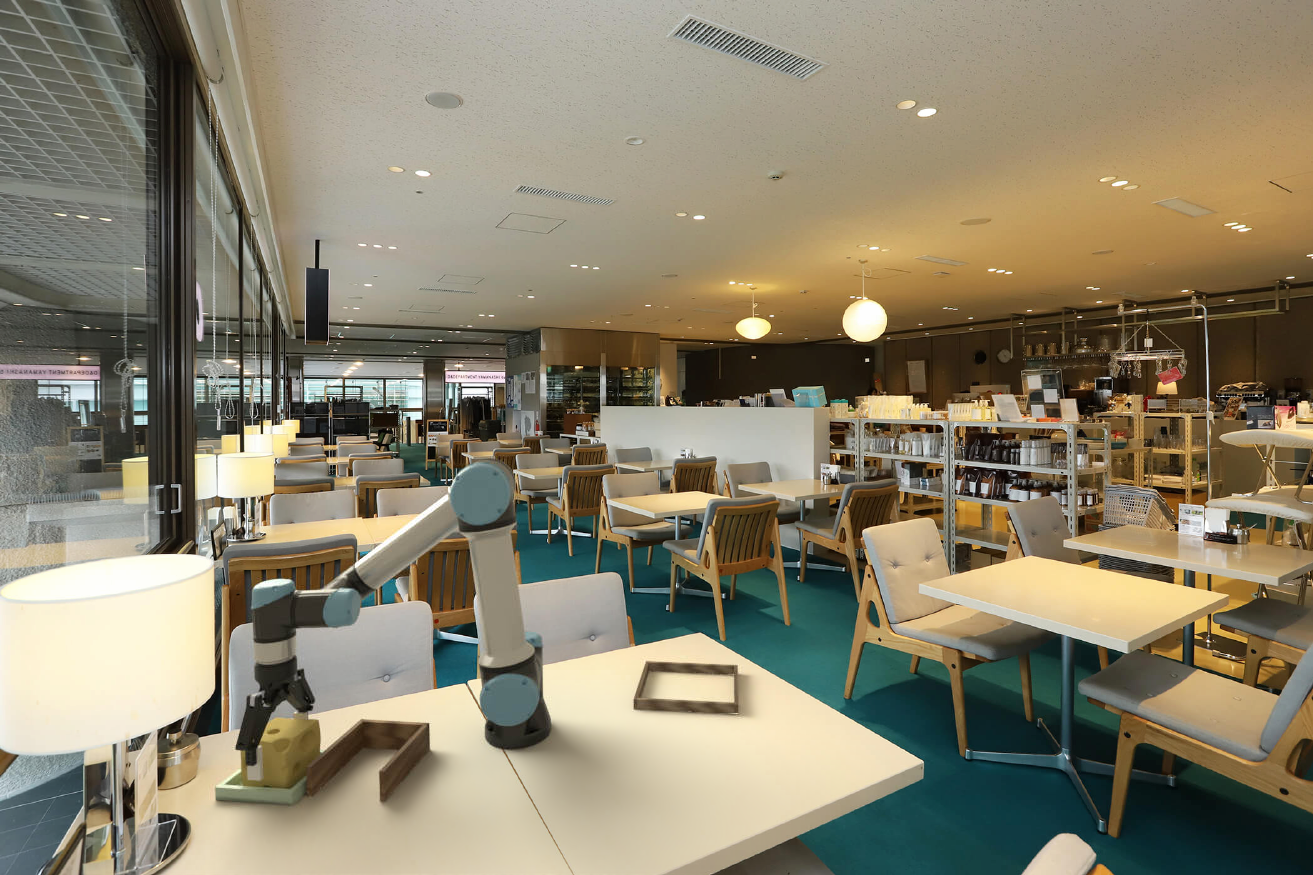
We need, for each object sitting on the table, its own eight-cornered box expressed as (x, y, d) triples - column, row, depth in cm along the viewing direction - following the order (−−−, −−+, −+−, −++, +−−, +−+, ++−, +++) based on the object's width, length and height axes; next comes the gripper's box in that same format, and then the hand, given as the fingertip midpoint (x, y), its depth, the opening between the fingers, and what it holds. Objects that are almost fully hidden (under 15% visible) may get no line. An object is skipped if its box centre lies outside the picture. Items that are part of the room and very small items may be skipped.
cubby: (430, 749, 145) (429, 722, 144) (384, 801, 126) (383, 771, 126) (361, 745, 147) (361, 718, 146) (307, 796, 128) (306, 766, 127)
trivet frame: (737, 673, 184) (737, 665, 184) (738, 714, 160) (738, 704, 160) (646, 669, 187) (646, 660, 187) (633, 709, 163) (633, 699, 163)
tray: (339, 761, 140) (338, 750, 140) (292, 805, 125) (291, 792, 125) (269, 757, 142) (269, 746, 142) (215, 799, 127) (215, 787, 127)
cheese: (286, 793, 128) (284, 744, 127) (238, 788, 129) (236, 739, 129) (322, 764, 138) (320, 718, 137) (277, 759, 140) (275, 714, 139)
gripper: (299, 634, 145) (302, 727, 146) (209, 683, 120) (214, 795, 121) (330, 635, 144) (333, 729, 145) (247, 685, 119) (252, 797, 120)
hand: (279, 759), depth 133 cm, fingers open, 13 cm apart
